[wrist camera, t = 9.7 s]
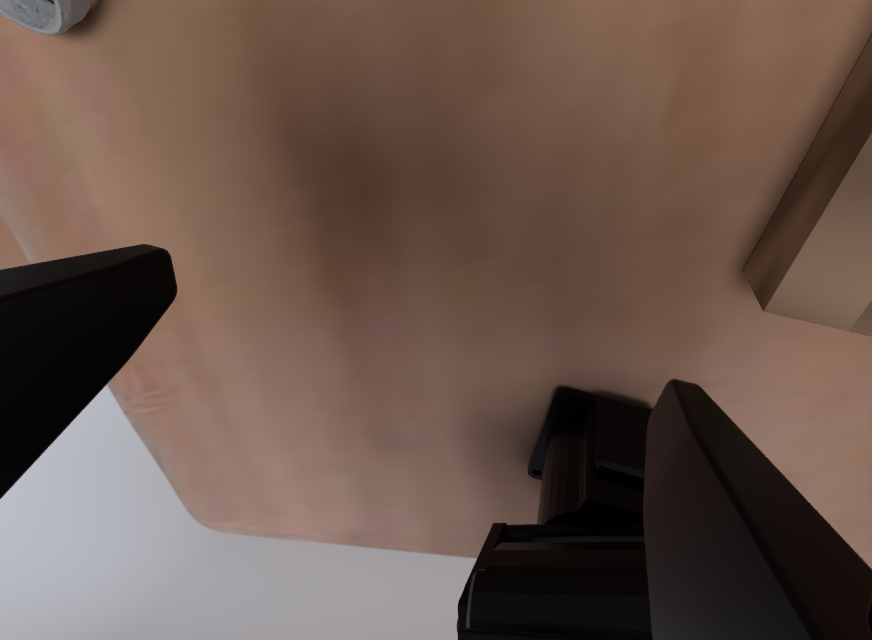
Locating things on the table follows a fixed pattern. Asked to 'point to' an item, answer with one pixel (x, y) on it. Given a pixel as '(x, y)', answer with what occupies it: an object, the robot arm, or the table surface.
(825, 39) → the table surface
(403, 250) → the table surface
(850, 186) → the eye block
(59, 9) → the ceramic mug
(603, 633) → the robot arm
